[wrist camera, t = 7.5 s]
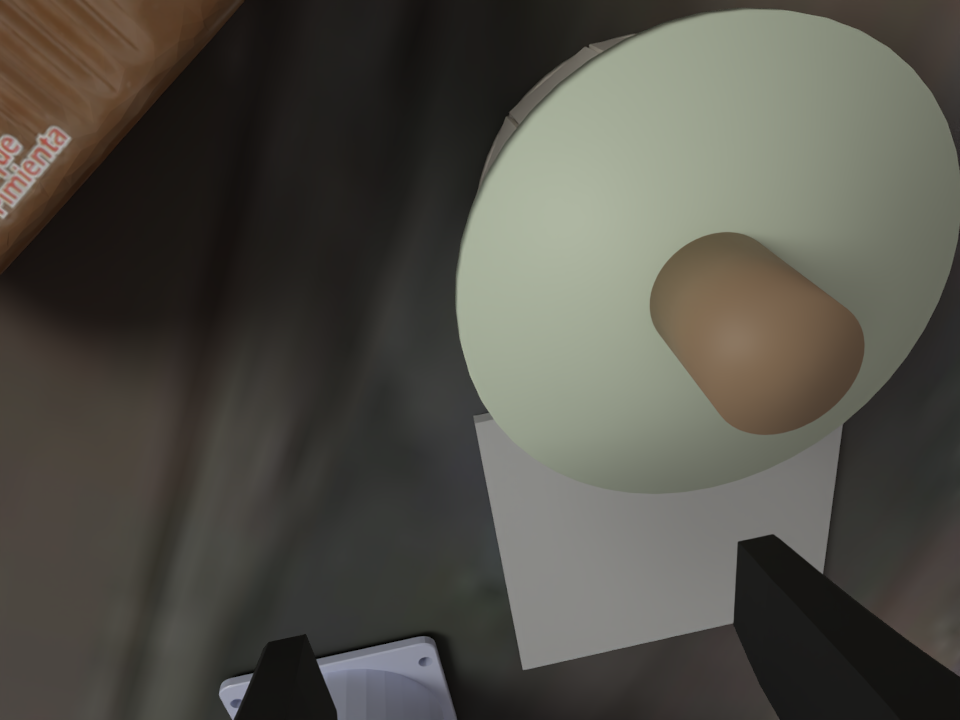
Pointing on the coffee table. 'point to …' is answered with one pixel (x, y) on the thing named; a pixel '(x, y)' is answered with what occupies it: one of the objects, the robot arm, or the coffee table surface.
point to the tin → (81, 92)
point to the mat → (638, 546)
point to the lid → (707, 249)
